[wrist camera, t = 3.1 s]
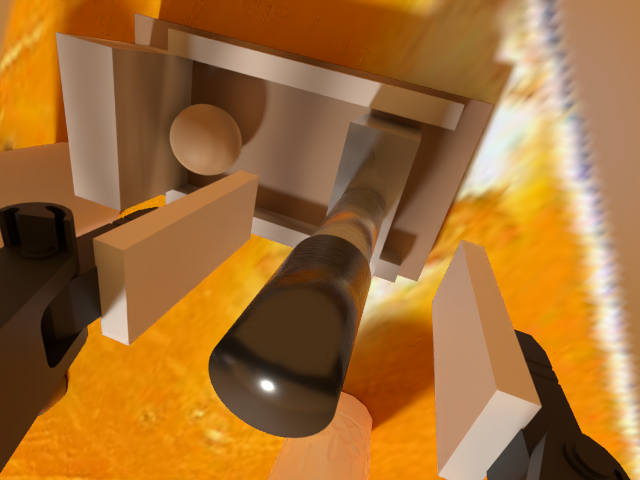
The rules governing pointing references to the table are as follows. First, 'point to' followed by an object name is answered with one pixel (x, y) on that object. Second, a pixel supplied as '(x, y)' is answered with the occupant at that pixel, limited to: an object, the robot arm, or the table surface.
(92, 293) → the robot arm
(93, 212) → the can
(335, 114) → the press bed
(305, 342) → the ram
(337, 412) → the white cup
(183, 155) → the tan ball
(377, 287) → the table surface
